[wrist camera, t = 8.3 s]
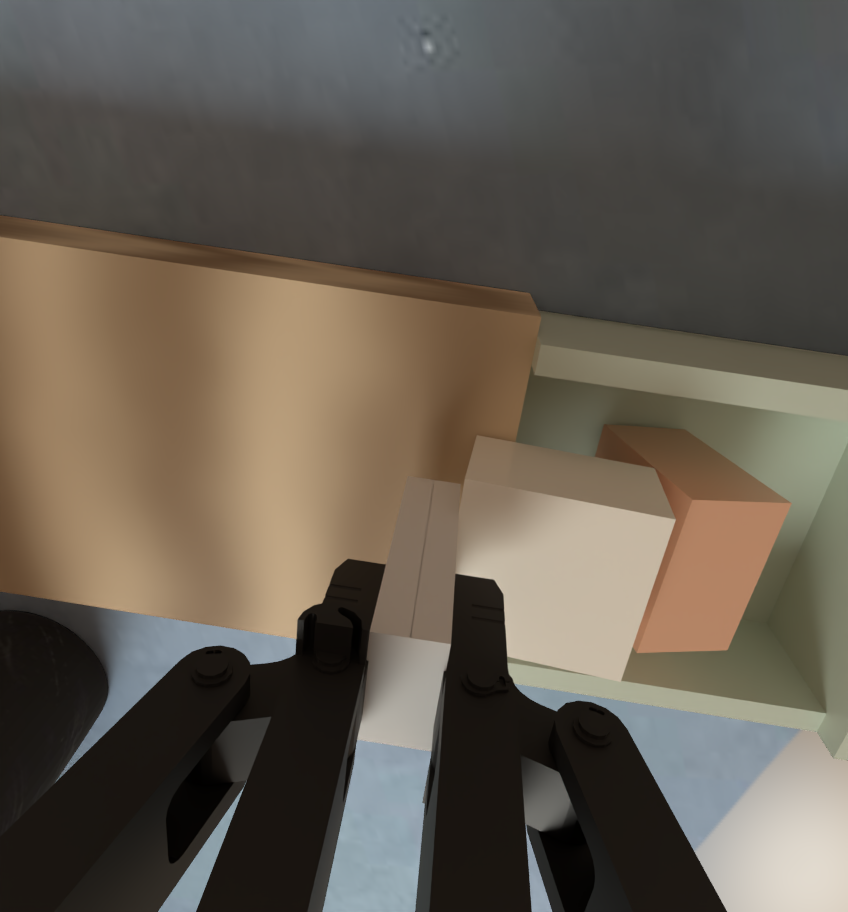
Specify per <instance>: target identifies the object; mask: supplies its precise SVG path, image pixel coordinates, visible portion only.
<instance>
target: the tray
mask: <svg viewBox="0 0 848 912" xmlns="http://www.w3.org/2000/svg"><path fill="white" fill-rule="evenodd" d="M538 311H539V310H538ZM539 313H540V315H541V322H540V326H539V331H538V336H537V341H536V346H535V350H534V355H533V360H532V365H531V370H530V374H529V379H528V384H527V389H526V394H525V398H524V403H523V408H522V413H521V418H520V422H519V427H518V432H517V437H516V442H517V443H522V444H527V445H533V446H538V447H543V448H549V449H554V450H560V451H565V452H570V453H576V454H581V455H586V456H592V457H595V454H596V451H597V447H598V444H599V440H600V436H601V433H602V429H603V426H604V424H609V425H625V426H640V427H656V428H671V429H685V430H687V431H688V432H689V433H691V434H692V435H694V436H695V437H697V438H698V439H700V440H701V441H702V442H704V443H705V444H707V445H708V446H710V447H711V448H713V449H714V450H716V451H717V452H718V453H720V454H721V455H723V456H724V457H726V458H727V459H729V460H730V461H731V462H733V463H734V464H736V465H737V466H739V467H740V468H742V469H743V470H744V471H746V472H747V473H749V474H750V475H752V476H753V477H755V478H756V479H757V480H759V481H760V482H762V483H763V484H765V485H766V486H768V487H769V488H770V489H772V490H773V491H775V492H776V493H778V494H779V495H781V496H782V497H783V498H785V499H786V500H788V501H789V502H791V503H792V504H791V506H790V509H789V511H788V513H787V515H786V518H785V520H784V522H783V525H782V527H781V529H780V531H779V534H778V536H777V538H776V540H775V543H774V545H773V547H772V550H771V552H770V554H769V556H768V559H767V561H766V563H765V566H764V568H763V570H762V572H761V575H760V577H759V579H758V582H757V584H756V586H755V588H754V591H753V593H752V595H751V598H750V600H749V602H748V604H747V607H746V609H745V611H744V614H743V616H742V618H741V620H740V623H739V625H738V627H737V630H736V632H735V634H734V636H733V639H732V641H731V643H730V646H729V648H728V650H722V651H689V652H656V653H637V652H636V651H635V649H634V648H633V647H632V650H631V653H630V656H629V659H628V662H627V665H626V668H625V670H624V673H623V676H622V679H621V682H618V681H614V680H609V679H605V678H600V677H596V676H591V675H587V674H583V673H578V672H574V671H569V670H565V669H560V668H556V667H551V666H547V665H543V664H538V663H534V662H529V661H525V660H520V659H516V658H511V657H507V661H508V671H509V675H510V676H511V677H512V679H513V682H514V683H515V684H521V685H527V686H534V687H540V688H546V689H552V690H558V691H565V692H571V693H577V694H583V695H590V696H596V697H602V698H608V699H615V700H621V701H627V702H633V703H640V704H646V705H652V706H658V707H665V708H671V709H677V710H683V711H690V712H696V713H702V714H708V715H715V716H721V717H727V718H733V719H740V720H746V721H752V722H758V723H765V724H771V725H777V726H783V727H790V728H796V729H802V730H809V731H814V732H817V733H818V735H819V736H820V738H821V739H822V741H823V743H824V744H825V746H826V748H827V749H828V750H829V752H830V754H831V756H832V757H833V758H835V759H841V760H847V761H848V356H844V355H837V354H830V353H824V352H817V351H810V350H803V349H797V348H790V347H783V346H776V345H770V344H763V343H756V342H749V341H742V340H736V339H729V338H722V337H715V336H709V335H702V334H695V333H688V332H682V331H675V330H668V329H661V328H654V327H648V326H641V325H634V324H627V323H621V322H614V321H607V320H600V319H593V318H587V317H580V316H573V315H566V314H560V313H553V312H546V311H539Z"/></svg>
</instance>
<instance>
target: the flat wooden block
mask: <svg viewBox="0 0 848 912" xmlns="http://www.w3.org/2000/svg"><path fill="white" fill-rule="evenodd" d="M540 322H541V315H540V313H539V311H538V309H537V307H536V305H535V303H534V301H533V299H532V297H531V295H530V293H526V292H519V291H512V290H505V289H498V288H492V287H485V286H478V285H471V284H464V283H458V282H451V281H444V280H437V279H430V278H424V277H417V276H410V275H403V274H396V273H390V272H383V271H376V270H369V269H362V268H356V267H349V266H342V265H335V264H329V263H322V262H315V261H308V260H301V259H295V258H288V257H281V256H274V255H267V254H261V253H254V252H247V251H240V250H233V249H227V248H220V247H213V246H206V245H199V244H193V243H186V242H179V241H172V240H165V239H159V238H152V237H145V236H138V235H131V234H125V233H118V232H111V231H104V230H97V229H91V228H84V227H77V226H70V225H63V224H57V223H50V222H43V221H36V220H29V219H23V218H16V217H9V216H2V215H0V592H7V593H13V594H19V595H25V596H32V597H38V598H44V599H50V600H57V601H63V602H69V603H75V604H82V605H88V606H94V607H101V608H107V609H113V610H119V611H126V612H132V613H138V614H144V615H151V616H157V617H163V618H169V619H176V620H182V621H188V622H194V623H201V624H207V625H213V626H219V627H226V628H232V629H238V630H244V631H251V632H257V633H263V634H269V635H276V636H282V637H288V638H294V639H297V620H298V618H299V617H300V615H301V614H302V613H303V611H305V610H307V609H308V608H310V607H312V606H313V605H317V604H321V603H322V602H323V600H324V598H325V594H326V592H327V589H328V586H329V584H330V581H331V578H332V576H333V573H334V570H335V569H336V568H337V567H338V566H340V565H341V564H342V563H343V562H344V561H346V560H347V559H354V560H360V561H367V562H373V563H380V564H386V563H387V559H388V555H389V550H390V546H391V542H392V538H393V534H394V530H395V526H396V522H397V518H398V514H399V510H400V505H401V501H402V497H403V493H404V489H405V485H406V481H407V477H408V476H411V477H418V478H425V479H431V480H438V481H444V482H451V483H458V484H461V486H460V503H459V509H460V504H461V498H462V492H463V486H464V481H465V476H466V473H467V469H468V465H469V462H470V458H471V455H472V451H473V447H474V444H475V440H476V436H477V435H479V436H484V437H490V438H495V439H501V440H506V441H511V442H516V437H517V432H518V427H519V422H520V418H521V413H522V408H523V403H524V398H525V394H526V389H527V384H528V379H529V374H530V370H531V365H532V360H533V355H534V350H535V346H536V341H537V336H538V331H539V326H540Z"/></svg>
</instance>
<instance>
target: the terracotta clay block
mask: <svg viewBox="0 0 848 912" xmlns="http://www.w3.org/2000/svg"><path fill="white" fill-rule="evenodd" d="M595 457H597V458H602V459H608V460H613V461H618V462H624V463H629V464H635V465H640V466H645V467H651V468H655V470H656V473H657V475H658V478H659V480H660V482H661V485H662V487H663V490H664V492H665V495H666V497H667V499H668V502H669V504H670V507H671V509H672V512H673V514H674V516H675V519H676V521H675V524H674V527H673V530H672V532H671V535H670V538H669V541H668V544H667V547H666V550H665V553H664V556H663V559H662V562H661V565H660V568H659V571H658V574H657V576H656V579H655V582H654V585H653V588H652V591H651V594H650V597H649V600H648V603H647V606H646V609H645V612H644V615H643V618H642V621H641V623H640V626H639V629H638V632H637V635H636V638H635V641H634V644H633V648H634V649H635V651H636V652H637V653H656V652H689V651H722V650H728V648H729V646H730V643H731V641H732V639H733V636H734V634H735V632H736V630H737V627H738V625H739V623H740V620H741V618H742V616H743V614H744V611H745V609H746V607H747V604H748V602H749V600H750V598H751V595H752V593H753V591H754V588H755V586H756V584H757V582H758V579H759V577H760V575H761V572H762V570H763V568H764V566H765V563H766V561H767V559H768V556H769V554H770V552H771V550H772V547H773V545H774V543H775V540H776V538H777V536H778V534H779V531H780V529H781V527H782V525H783V522H784V520H785V518H786V515H787V513H788V511H789V509H790V506H791V504H792V503H791V502H789V501H788V500H786V499H785V498H783V497H782V496H781V495H779V494H778V493H776V492H775V491H773V490H772V489H770V488H769V487H768V486H766V485H765V484H763V483H762V482H760V481H759V480H757V479H756V478H755V477H753V476H752V475H750V474H749V473H747V472H746V471H744V470H743V469H742V468H740V467H739V466H737V465H736V464H734V463H733V462H731V461H730V460H729V459H727V458H726V457H724V456H723V455H721V454H720V453H718V452H717V451H716V450H714V449H713V448H711V447H710V446H708V445H707V444H705V443H704V442H702V441H701V440H700V439H698V438H697V437H695V436H694V435H692V434H691V433H689V432H688V431H687V430H685V429H671V428H656V427H640V426H625V425H609V424H604V426H603V429H602V433H601V436H600V440H599V444H598V447H597V451H596V454H595Z"/></svg>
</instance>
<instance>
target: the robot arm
mask: <svg viewBox="0 0 848 912" xmlns="http://www.w3.org/2000/svg"><path fill="white" fill-rule="evenodd" d="M460 486H461V484H458V483H451V482H444V481H438V480H431V479H425V478H418V477H411V476H408V477H407V481H406V485H405V489H404V493H403V497H402V501H401V505H400V510H399V514H398V518H397V522H396V526H395V530H394V534H393V538H392V542H391V546H390V550H389V555H388V559H387V563H386V564H380V563H373V562H367V561H360V560H354V559H347V560H346V561H344V562H343V563H342V564H341V565H340V566H338V567H337V568H336V569H335V570H334V573H333V576H332V578H331V581H330V584H329V586H328V589H327V592H326V594H325V598H324V600H323V602H322V603H321V604H317V605H313V606H312V607H310V608H308V609H307V610H305V611H303V613H302V614H301V615H300V617H299V618H298V620H297V639H296V654H295V655H293V656H292V657H290V658H287V659H285V660H282V661H278V662H273V663H266V664H255V665H250V662H249V661H248V659H247V658H246V656H245V655H244V654H243V653H241V652H240V651H238V650H236V649H234V648H230V647H225V646H211V647H204V648H202V649H199V650H196V651H193V652H191V653H190V654H188V655H187V656H186V657H184V658H183V659H181V660H180V661H179V662H178V663H177V664H176V665H175V666H174V667H173V668H172V669H171V670H170V671H169V672H168V673H167V674H166V675H165V676H164V677H163V678H162V679H161V680H160V681H159V682H158V683H157V684H156V685H155V686H154V687H153V688H152V689H151V690H149V691H148V692H147V693H146V694H145V695H144V696H143V697H142V698H141V699H140V700H139V701H138V702H137V703H136V704H135V705H134V706H133V707H132V708H131V709H130V710H129V711H128V712H127V713H126V714H125V715H124V716H123V717H122V718H121V719H120V720H119V721H118V722H117V723H116V724H115V725H114V726H113V727H112V728H111V729H110V730H109V731H108V732H107V733H106V734H105V735H104V736H103V737H102V738H100V739H99V740H98V741H97V742H96V743H95V744H94V745H93V746H92V747H91V748H90V749H89V750H88V751H87V752H86V753H85V754H84V755H83V756H82V757H81V758H80V759H79V760H78V761H77V762H76V763H75V764H74V765H73V766H72V767H71V768H70V769H69V770H68V771H67V772H66V773H65V774H64V775H63V776H62V777H61V778H60V779H59V780H58V781H57V782H56V783H55V784H54V785H52V786H51V787H50V788H49V789H48V790H47V791H46V792H45V793H44V794H43V795H42V796H41V797H40V798H39V799H38V800H37V801H36V802H35V803H34V804H33V805H32V806H31V807H30V808H29V809H28V810H27V811H26V812H25V813H24V814H23V815H22V816H21V817H20V818H19V819H18V820H17V821H16V822H15V823H14V824H13V825H12V826H11V827H10V828H9V829H8V830H7V831H6V832H5V833H3V834H2V835H1V836H0V912H158V911H159V909H160V908H161V906H162V905H163V903H164V902H165V900H166V899H167V898H168V896H169V895H170V893H171V892H172V890H173V889H174V887H175V886H176V884H177V883H178V882H179V880H180V879H181V877H182V876H183V874H184V873H185V871H186V870H187V868H188V867H189V866H190V864H191V863H192V861H193V860H194V858H195V857H196V855H197V854H198V852H199V851H200V850H201V848H202V847H203V845H204V844H205V842H206V841H207V839H208V838H209V837H210V835H211V834H212V832H213V831H214V829H215V828H216V826H217V825H218V823H219V822H220V821H221V819H222V818H223V816H224V815H225V813H226V812H227V810H228V809H229V807H230V806H231V805H232V803H233V802H234V800H235V799H236V797H237V796H238V794H239V793H240V791H241V790H242V789H243V787H244V785H245V787H244V789H243V792H242V794H241V797H240V800H239V802H238V805H237V807H236V810H235V813H234V815H233V818H232V820H231V823H230V825H229V828H228V831H227V833H226V836H225V838H224V841H223V844H222V846H221V849H220V851H219V854H218V856H217V859H216V862H215V864H214V867H213V869H212V872H211V875H210V877H209V880H208V882H207V885H206V888H205V890H204V893H203V895H202V898H201V900H200V903H199V906H198V908H197V911H196V912H322V911H323V906H324V901H325V897H326V892H327V887H328V882H329V878H330V873H331V868H332V864H333V859H334V854H335V850H336V845H337V840H338V836H339V831H340V826H341V821H342V817H343V812H344V807H345V803H346V798H347V793H348V789H349V784H350V779H351V775H352V770H353V765H354V757H355V749H356V742H357V740H363V741H369V742H376V743H382V744H388V745H394V746H400V747H407V748H413V749H419V750H425V751H431V750H432V751H431V759H430V765H429V770H428V776H427V781H426V786H425V792H424V797H423V803H425V809H424V820H423V832H422V843H421V854H420V865H419V876H418V888H417V899H416V910H415V912H532V911H531V897H530V883H529V868H528V854H527V840H526V826H525V824H526V825H527V832H528V835H529V839H530V842H531V845H532V848H533V851H534V854H535V858H536V861H537V864H538V867H539V870H540V874H541V877H542V880H543V883H544V886H545V889H546V893H547V896H548V899H549V902H550V905H551V909H552V912H727V911H726V909H725V907H724V905H723V904H722V902H721V900H720V898H719V896H718V894H717V893H716V891H715V889H714V887H713V885H712V883H711V882H710V880H709V878H708V876H707V874H706V872H705V871H704V869H703V867H702V865H701V863H700V861H699V860H698V858H697V856H696V854H695V852H694V850H693V849H692V847H691V845H690V843H689V841H688V840H687V838H686V836H685V834H684V832H683V830H682V829H681V827H680V825H679V823H678V821H677V819H676V818H675V816H674V814H673V812H672V810H671V808H670V807H669V805H668V803H667V801H666V799H665V797H664V796H663V794H662V792H661V790H660V788H659V787H658V785H657V783H656V781H655V779H654V777H653V776H652V774H651V772H650V770H649V768H648V766H647V765H646V763H645V761H644V759H643V757H642V755H641V754H640V752H639V750H638V748H637V746H636V744H635V743H634V741H633V739H632V737H631V735H630V734H629V732H628V730H627V728H626V727H625V726H624V724H623V723H622V722H621V721H620V719H619V718H618V717H617V716H616V715H614V714H613V713H612V712H610V711H609V710H607V709H606V708H604V707H602V706H599V705H597V704H594V703H592V702H584V701H575V702H570V703H566V704H565V705H563V706H562V707H561V708H560V709H558V711H557V712H556V711H554V710H552V709H549V708H547V707H545V706H542V705H540V704H538V703H536V702H534V701H532V700H530V699H529V698H527V697H526V696H525V695H524V694H522V693H521V692H520V691H519V690H518V689H517V687H516V686H515V685H514V682H513V679H512V677H511V676H510V675H509V671H508V661H507V644H506V628H505V612H504V595H503V593H502V591H501V590H500V588H499V587H498V585H497V583H496V582H495V580H493V579H487V578H480V577H474V576H467V575H461V574H455V569H456V552H457V536H458V519H459V516H458V515H459V503H460ZM246 780H247V781H246ZM245 783H246V784H245Z"/></svg>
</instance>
